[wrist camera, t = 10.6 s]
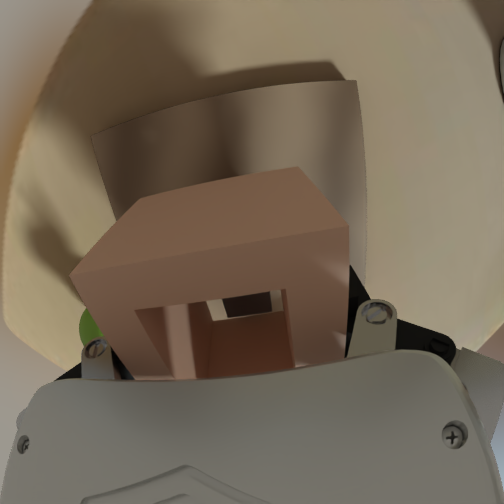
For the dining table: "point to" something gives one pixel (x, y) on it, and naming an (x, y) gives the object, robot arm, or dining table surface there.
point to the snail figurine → (88, 328)
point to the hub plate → (246, 156)
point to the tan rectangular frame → (221, 278)
